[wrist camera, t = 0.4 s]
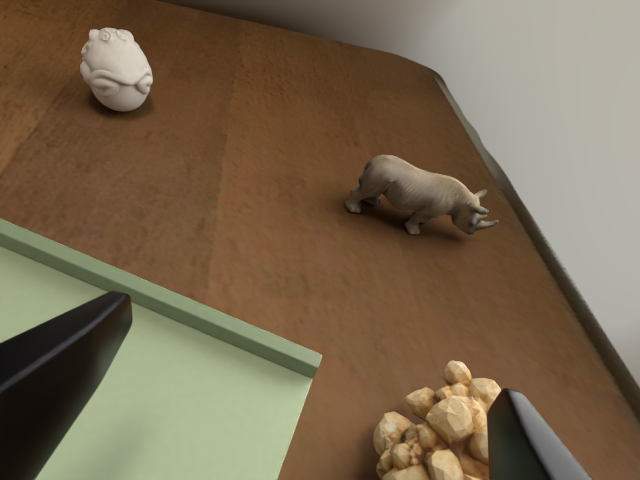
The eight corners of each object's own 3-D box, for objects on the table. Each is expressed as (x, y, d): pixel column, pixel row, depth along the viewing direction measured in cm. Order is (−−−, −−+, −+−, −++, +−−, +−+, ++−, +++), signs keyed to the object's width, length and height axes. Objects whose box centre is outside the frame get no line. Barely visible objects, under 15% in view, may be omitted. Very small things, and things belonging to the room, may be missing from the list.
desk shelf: (206, 655, 17) (217, 656, 12) (-243, 445, 18) (-375, 380, 13) (297, 406, 25) (323, 354, 20) (-17, 271, 26) (-54, 195, 21)
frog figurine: (139, 86, 45) (135, 17, 40) (165, 121, 41) (164, 51, 36) (77, 90, 41) (64, 16, 36) (99, 129, 38) (88, 53, 33)
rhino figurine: (483, 261, 38) (521, 214, 34) (342, 214, 38) (362, 160, 34) (480, 232, 41) (514, 186, 37) (349, 188, 41) (368, 136, 37)
